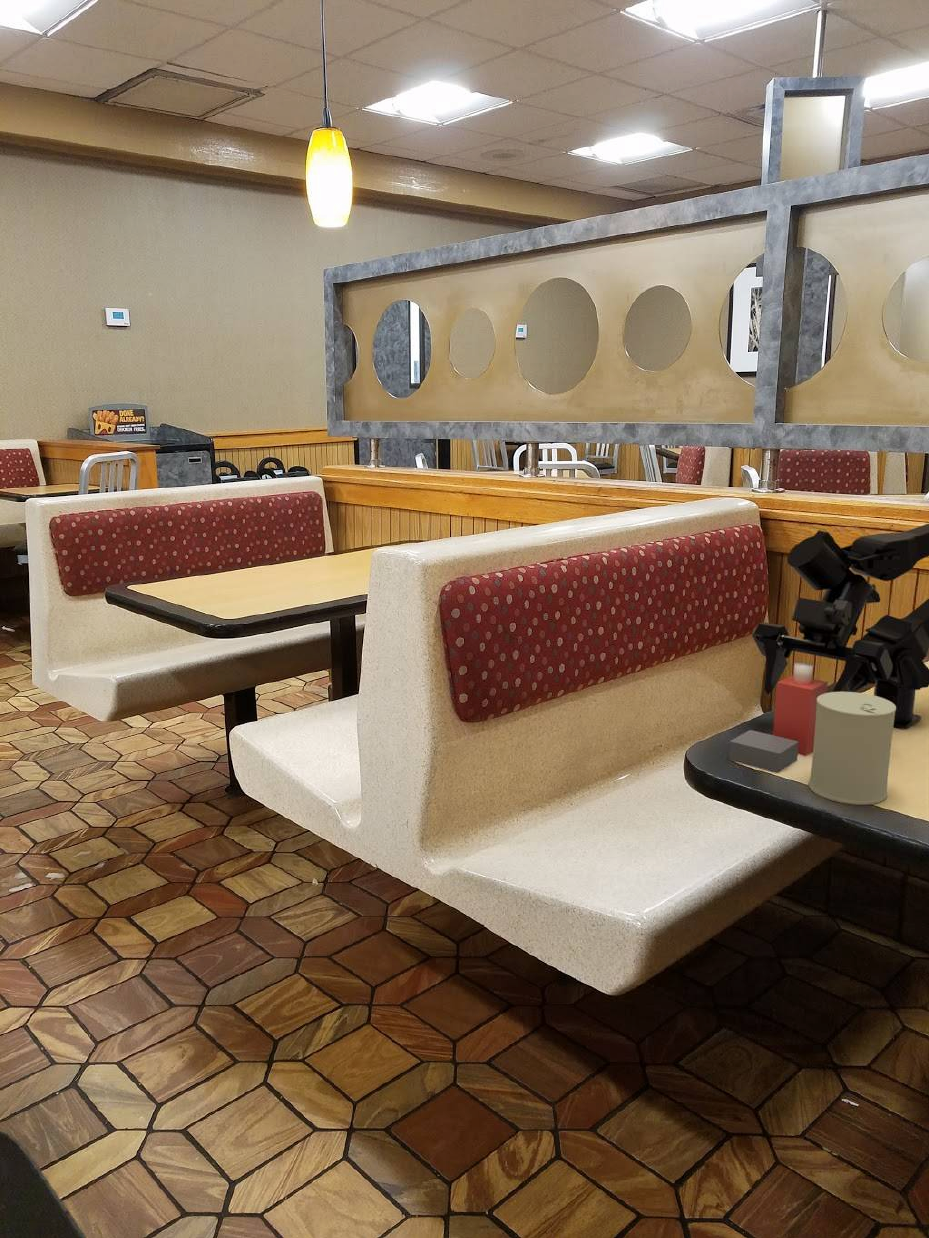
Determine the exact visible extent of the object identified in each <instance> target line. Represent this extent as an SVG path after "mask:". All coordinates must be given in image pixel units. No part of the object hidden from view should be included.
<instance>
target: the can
mask: <svg viewBox="0 0 929 1238" xmlns="http://www.w3.org/2000/svg"><path fill="white" fill-rule="evenodd" d="M895 711H896V706H895V705H894V704H893V703H892V702H890V701H889V700H886V699H884V698H881V697H878V696H874V694H868V693H864V692H863V693H862V692H857V691H856V692H833V691H831V692H827V693H825V694H822V695H820V696H818V697H817V710H816V723H815V735H814V747H813V752H812V758H811V769H810V776H809V777H810V778H809V780H808V787H809V789H810V790H811V791H812V792H813V793H814V794H816V795H818V796H819V797H821V798H823V799H826V800H828V801H832V802H836V803H841V804H845V805H847V804H848V805H854V806H855V805H857V806H858V805H859V806H867V805H876V804H879V803H882V802H884V801H885V800H886V799H887V798H888V779H889V778H888V777H889V770H890V769H889V768H890V757H891V750H892V739H893V731H894V726H893V725H894V717H895Z"/></svg>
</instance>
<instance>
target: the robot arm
mask: <svg viewBox="0 0 929 1238" xmlns="http://www.w3.org/2000/svg"><path fill="white" fill-rule="evenodd" d="M789 551H790V552H789V553H788V555H787V565H789V566H790V567H791V568H792V569H793V570H794V571H795V572H796V573H797V574H798V575H799V576H800V577H801V578H802V579H803V581H804V582H806V584H808V586H809V587H811V588H812V590H814V591H824V590H825V591H824V593H823V595H822V597H821V600H817V599H811V598H803V597H798V598H797V600H796V603H795V607H794V610H793V612H792V613H793V614H792V617H791V620H792V622H796V623H797V624H798V623H799V625H798V627H797V628H798V632H799V633H800V634H802V635H803V637H802V638H801V637H795V636H790V634H789V632H788V630H787V628H786V626H785V625H783V624H782V625H780V624H775V623H769V622H766V621H765V622H764V621H762V622H760V623H757V625H755V628H754V629H753V630H752V631H753V632H752V634H751V636H752V638H753V640H754V643H755V645H756V646H757V648H758V649H759V652H760V654H761V655H763V656H764V657H765V663H766V664H765V675H764V676H765V679H764V681H765V682H764V693H765V694H766V695H770V694H771V693H772V692H773V690H774V689H775V687H777V682H779V680H780V678H781V676H782V674H784V671H785V670H786V668H787V666H788V664H789V663H788V661H787V659H788V658H790V656H791V654H792V652H796V653H797V652H798V653H801V654H802V653H803V654H808V655H813V656H817V657H822V658H826V659H831V660H832V659H833V660H837V661H843V662H844V667H843V670H842V672H841V674H840V676H839V678H838V680H837V682H836V684H835V686H834V688H833V690H832V692H857V691H859V690H860V689H862V688H864V687H866V686H867V685H870V684H871V685H874V687H873V689H874V690H873V695H874V696H878V697H881V698H884V699H886V700H889V701H890V702H892V703H893V704H894V705H895V706H896V711H895V717H894V725H893V727H896V728H901V729H907V728H909V727H910V726H912V725H914V724H916V723H917V722H919V721H921V719H922V716H921V715H919V714H915V713H914V708H915V700H916V691H920V690H921V689H923V688H928V687H929V667H928V666H927V665H926V663H925V662H924V660H925V659H926V657H927V655H928V651H929V598H927V599H926V600H924V602H923V603H922V604H920V605H919V606H917V607H916V608H915V609H914V610H913V611H911V612H910V613H909V614H908V615H906V616H904V617H901V618H898V617H895V616H892V615H889V614H885V615H883V616H882V617H880V619H879V620H877V622H876V623H875V624H873V625H872V626H871V627H868V628H865V630H864V631H865V632H866V633H865V634H864V635H863V636H862V637H861V638H860V639H857V640H854V642H853V644H852V647H848V646H847V645H848V642H849V640H850V638H851V636H856V634H857V633H858V627H857V624H858V621H859V619H860V616H861V615H862V613H863V610H864V608H865V605H866V604H875V603H880V602H881V596H880V594H879V592H878V591H877V589H876V585H875V584H871V583H870V582H869V580H867V579H866V578H865V577H868V578H872V579H876V580H878V581H879V580H880V581H883V582H891V581H893V580H894V581H895V580H896V579H898V578H899V577H901V576H903V575H905V574H906V573H908V572H910V571H911V570H913V568H914V567H915V566H916V564H917V563H918V562H920V561H921V560H924V559H925V558H929V523H926V524H923V525H919V526H918V527H917V526H916V527H915V528H912V529H909V530H906V531H901V532H890V533H889V532H887V533H874V534H869V535H863V536H860V537H858V538H856V539H855V540H853V542H852V543H851V544H849V545H845V546H842V547H840V545H838V543H837V542H836V541H835V540H834V537H833V536H832V535H831V534H830V533H829V532H827V531H824V530H817V532H816V533H815V534H814V535H812V536H809V537H807V538H804V539H803V540H802V541H800V542H799V543H797V544H794V546H793V547H792V548H791V549H790V550H789ZM864 576H865V577H864Z"/></svg>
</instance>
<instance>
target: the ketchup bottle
mask: <svg viewBox="0 0 929 1238" xmlns="http://www.w3.org/2000/svg"><path fill="white" fill-rule="evenodd" d="M813 669H814V665H813V664H812V663H808V662H794V669H793V674H792V675H790V676H788V677H786V678H784V679H783V678H782V679H781V680H780V681H779V680H778V682H777V684H776V689H775V690H776V691H775V703H774V704H775V705H774V715H773V731H772V735H773V736H777V737H782V738H786V739H790V740H794V741H798V742H799V744H798V755H801V756H804V757H807V756H809V755H810V754H813V747H814V735H815V723H816V710H817V697H818V696H820V695H822V694H825V693H828V683H829V682H828V681H824V680H820V679H815V678H813Z"/></svg>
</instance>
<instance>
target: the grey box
mask: <svg viewBox="0 0 929 1238" xmlns="http://www.w3.org/2000/svg"><path fill="white" fill-rule="evenodd" d="M798 744H799V742H798V741H794V740H790V739H786V738H782V737H777V736H773V734H770V733H769V734H768V733H764V732H760V731H757V730H752V729H749V730H748V731H746V732H744V733H742V734H740V735H738V736H737V737H735V738H733V739H731V740H730V741H729V749H728V750H729V752H728V753H729V754H728V761H730V762H731V761H732V762H736V763H739V764H743V765H746V766H751V767H754V768H759V769H762V770H766V771H770V772H772V773H777V774H779V773H780V772H782V771H783V770H785V769H786V768H788V767H789V766H792V764H794V763H795V762H797V761H798V755H799V754H798Z"/></svg>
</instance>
